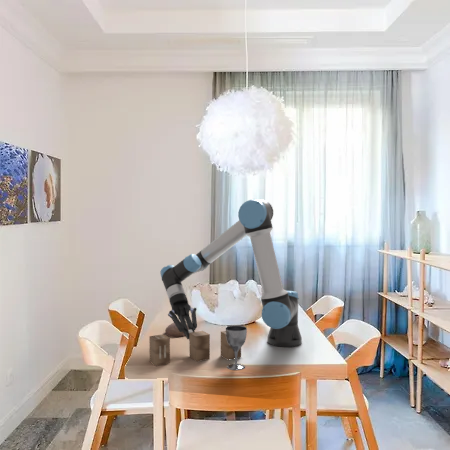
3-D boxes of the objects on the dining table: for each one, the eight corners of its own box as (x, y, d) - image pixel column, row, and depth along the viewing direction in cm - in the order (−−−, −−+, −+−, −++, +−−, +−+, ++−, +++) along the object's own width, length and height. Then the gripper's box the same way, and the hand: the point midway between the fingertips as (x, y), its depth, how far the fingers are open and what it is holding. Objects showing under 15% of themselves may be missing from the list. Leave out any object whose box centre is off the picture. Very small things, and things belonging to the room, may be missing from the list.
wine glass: (249, 369, 178) (249, 330, 177) (229, 371, 176) (229, 331, 175) (242, 362, 186) (242, 324, 185) (223, 364, 184) (223, 326, 183)
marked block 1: (163, 358, 190) (163, 333, 189) (170, 363, 184) (169, 337, 184) (149, 361, 187) (149, 336, 186) (155, 366, 181) (155, 340, 181)
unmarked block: (202, 354, 195) (202, 330, 194) (209, 359, 190) (209, 334, 189) (189, 357, 192) (189, 332, 191) (196, 361, 187) (196, 336, 186)
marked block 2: (233, 353, 196) (233, 329, 196) (241, 357, 191) (241, 333, 191) (220, 355, 193) (220, 331, 193) (228, 360, 188) (228, 335, 188)
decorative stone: (171, 339, 217) (171, 327, 217) (161, 332, 227) (161, 321, 227) (194, 335, 223) (194, 323, 223) (183, 329, 233) (183, 317, 233)
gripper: (188, 300, 214) (205, 347, 200) (161, 303, 207) (176, 352, 194) (193, 290, 209) (211, 338, 195) (165, 293, 202) (182, 342, 189)
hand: (194, 345), depth 194 cm, fingers closed
